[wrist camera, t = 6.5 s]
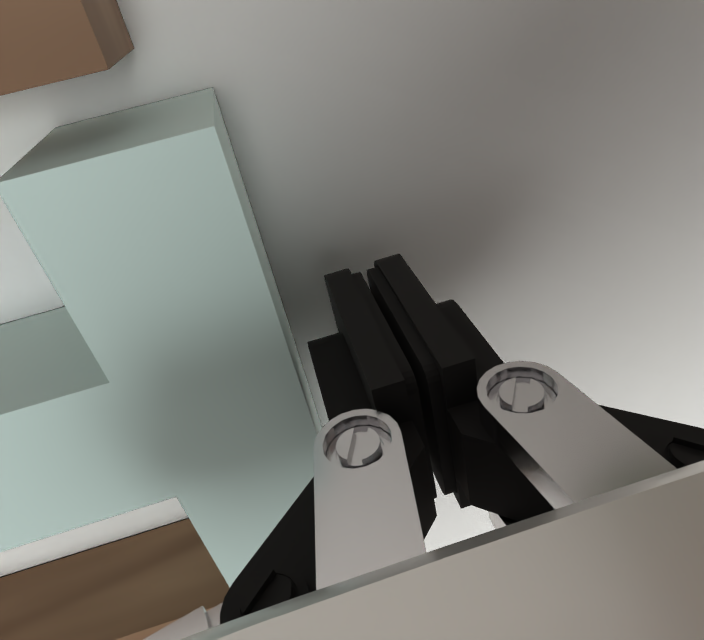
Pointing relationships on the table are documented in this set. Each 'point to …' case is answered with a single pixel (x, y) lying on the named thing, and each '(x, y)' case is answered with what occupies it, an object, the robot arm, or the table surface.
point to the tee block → (149, 339)
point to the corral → (143, 549)
